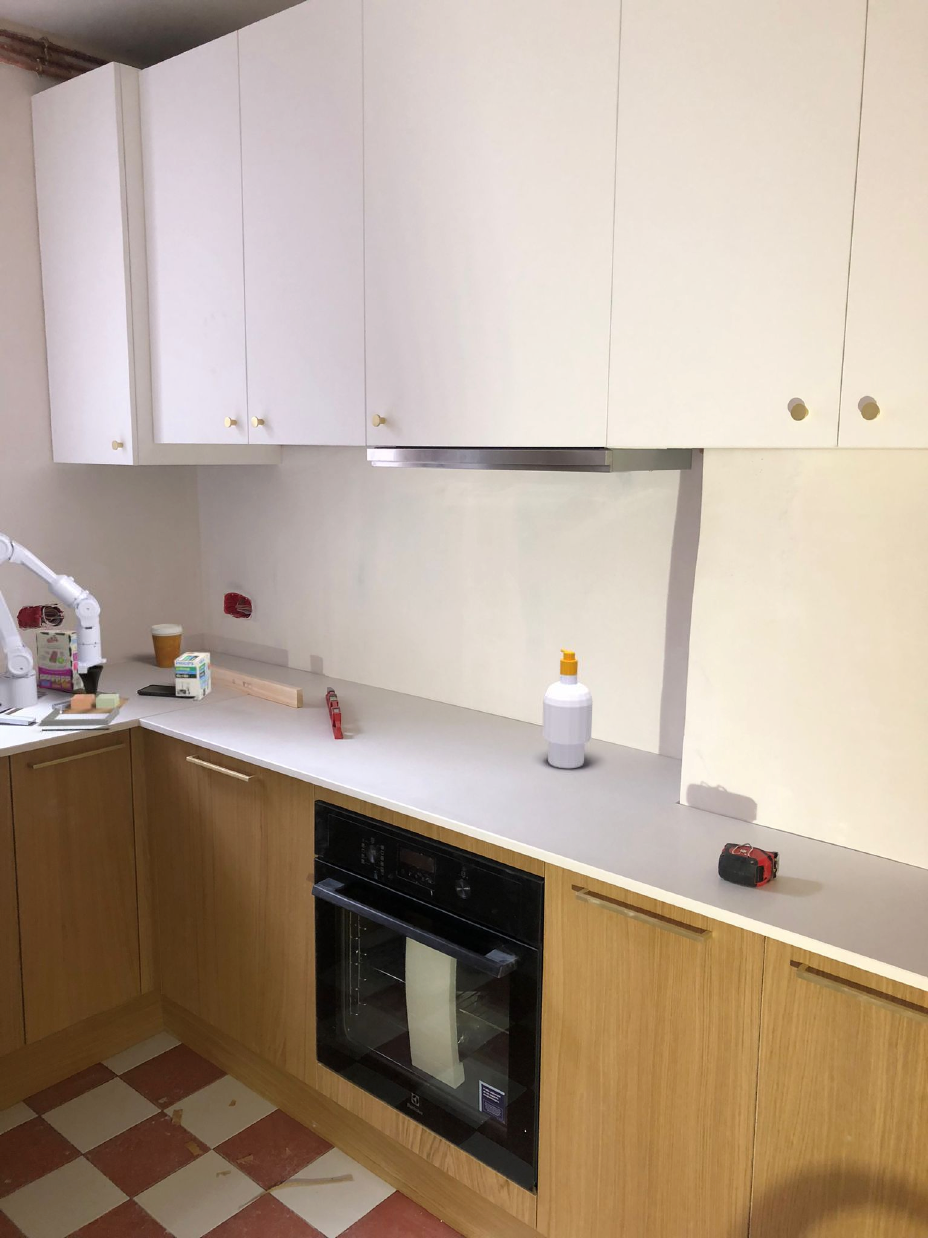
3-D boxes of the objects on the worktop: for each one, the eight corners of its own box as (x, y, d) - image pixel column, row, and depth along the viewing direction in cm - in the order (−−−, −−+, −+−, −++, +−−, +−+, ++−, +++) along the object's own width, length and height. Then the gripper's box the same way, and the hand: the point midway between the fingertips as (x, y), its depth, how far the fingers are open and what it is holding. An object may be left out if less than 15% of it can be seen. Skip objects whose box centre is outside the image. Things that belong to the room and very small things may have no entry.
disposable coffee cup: (149, 663, 298) (148, 624, 296) (182, 661, 302) (180, 622, 300) (153, 670, 290) (151, 630, 288) (186, 667, 294) (185, 628, 291)
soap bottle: (576, 754, 214) (579, 646, 210) (599, 768, 205) (603, 655, 201) (533, 759, 211) (536, 649, 206) (554, 774, 201) (558, 658, 197)
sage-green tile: (96, 708, 242) (95, 698, 242) (101, 703, 247) (100, 694, 246) (114, 708, 243) (114, 698, 242) (119, 703, 247) (118, 693, 247)
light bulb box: (200, 700, 256) (199, 660, 254) (175, 700, 256) (173, 660, 254) (211, 690, 266) (210, 651, 264) (187, 690, 266) (185, 651, 264)
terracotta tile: (71, 708, 242) (70, 698, 241) (76, 704, 246) (75, 694, 246) (89, 708, 242) (89, 698, 242) (94, 703, 247) (94, 694, 246)
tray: (41, 731, 227) (41, 720, 226) (56, 718, 237) (55, 708, 237) (108, 730, 228) (107, 719, 228) (119, 717, 239) (119, 707, 238)
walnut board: (60, 718, 237) (59, 713, 237) (77, 703, 251) (77, 698, 251) (115, 718, 238) (115, 713, 238) (129, 702, 253) (129, 698, 252)
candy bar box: (85, 690, 265) (82, 630, 262) (73, 694, 260) (69, 633, 258) (51, 686, 268) (47, 628, 266) (38, 691, 264) (34, 631, 261)
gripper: (97, 648, 243) (100, 701, 245) (112, 637, 257) (114, 687, 259) (67, 648, 242) (71, 701, 244) (84, 637, 256) (87, 687, 259)
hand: (91, 694), depth 252 cm, fingers closed
